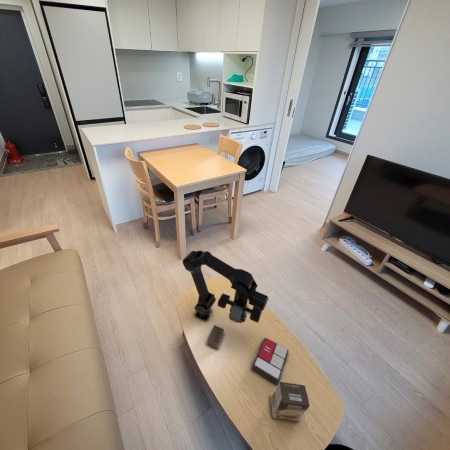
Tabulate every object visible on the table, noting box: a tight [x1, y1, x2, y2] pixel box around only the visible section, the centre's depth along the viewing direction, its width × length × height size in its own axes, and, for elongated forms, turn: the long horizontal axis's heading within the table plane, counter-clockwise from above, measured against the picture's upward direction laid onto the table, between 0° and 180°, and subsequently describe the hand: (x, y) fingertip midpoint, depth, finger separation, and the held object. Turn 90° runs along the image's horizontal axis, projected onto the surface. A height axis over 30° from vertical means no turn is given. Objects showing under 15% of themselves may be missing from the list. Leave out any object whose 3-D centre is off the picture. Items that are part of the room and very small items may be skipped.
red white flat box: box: [251, 337, 289, 385], centre depth 101 cm, size 11×4×15 cm
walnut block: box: [207, 324, 225, 350], centre depth 109 cm, size 5×8×4 cm, turn 155°
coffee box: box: [270, 381, 310, 422], centre depth 84 cm, size 9×6×16 cm
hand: (237, 317), depth 106 cm, fingers closed
